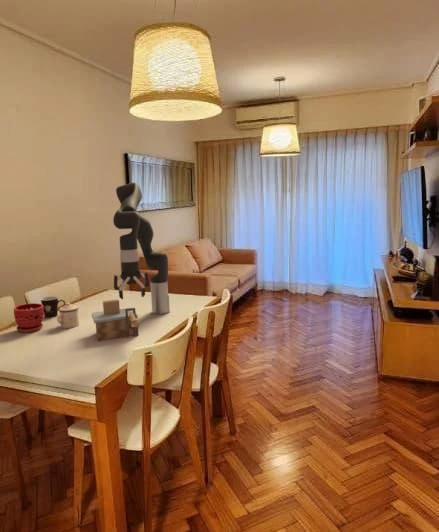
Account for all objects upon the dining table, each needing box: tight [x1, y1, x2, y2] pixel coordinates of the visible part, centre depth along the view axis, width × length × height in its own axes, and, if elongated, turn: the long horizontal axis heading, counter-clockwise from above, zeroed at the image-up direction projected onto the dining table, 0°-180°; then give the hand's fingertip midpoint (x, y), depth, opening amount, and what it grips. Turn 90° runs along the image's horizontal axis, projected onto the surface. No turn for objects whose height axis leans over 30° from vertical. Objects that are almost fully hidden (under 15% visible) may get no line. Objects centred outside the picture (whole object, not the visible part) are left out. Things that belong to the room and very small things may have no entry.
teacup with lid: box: [56, 302, 80, 329], centre depth 194 cm, size 12×9×12 cm
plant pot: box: [13, 302, 44, 333], centre depth 190 cm, size 13×13×12 cm
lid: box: [91, 299, 139, 325], centre depth 181 cm, size 19×13×7 cm
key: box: [129, 312, 140, 328], centre depth 167 cm, size 3×13×3 cm, turn 20°
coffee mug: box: [40, 295, 66, 319], centre depth 212 cm, size 12×9×10 cm
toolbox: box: [95, 307, 139, 342], centre depth 180 cm, size 18×13×13 cm
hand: (132, 297), depth 164 cm, fingers open, 8 cm apart
